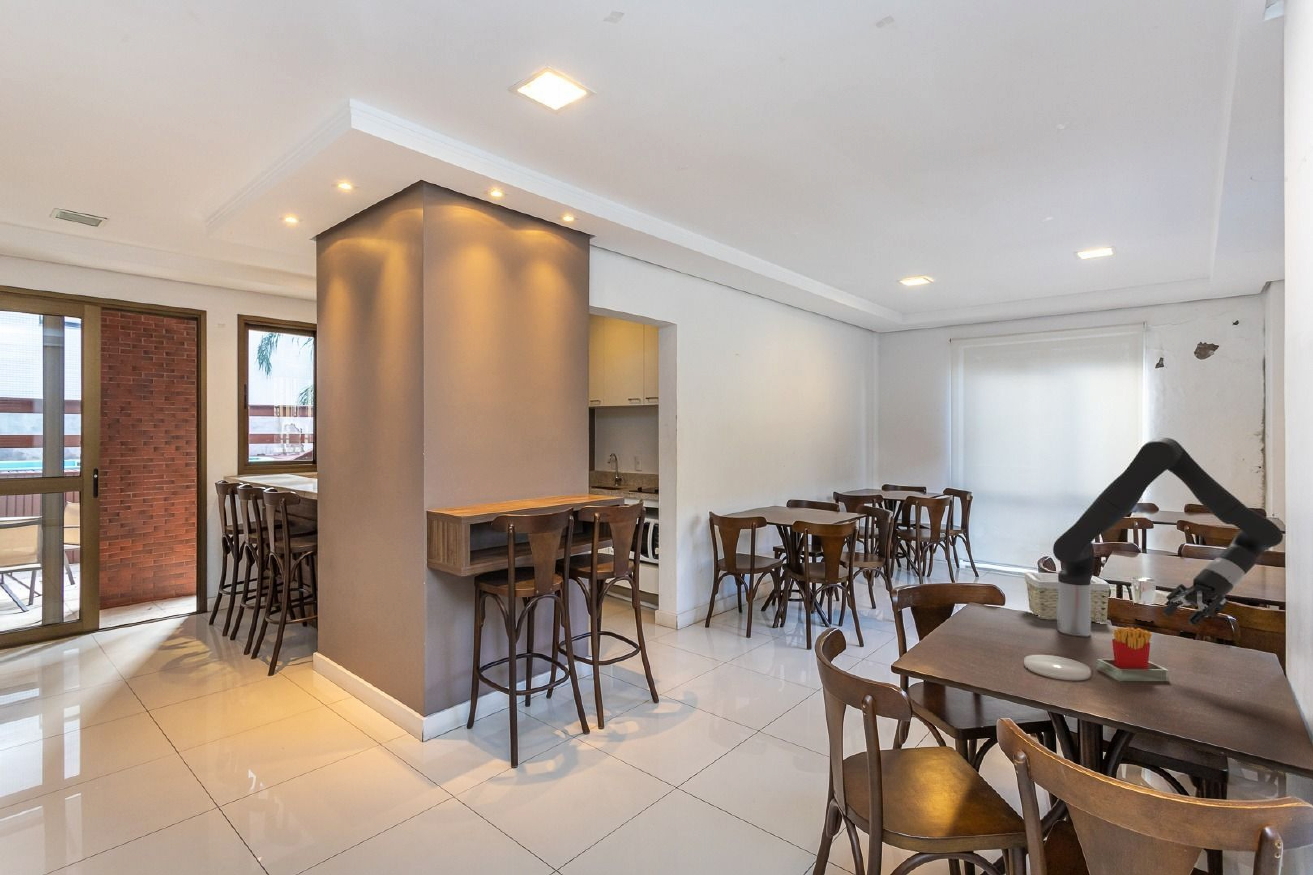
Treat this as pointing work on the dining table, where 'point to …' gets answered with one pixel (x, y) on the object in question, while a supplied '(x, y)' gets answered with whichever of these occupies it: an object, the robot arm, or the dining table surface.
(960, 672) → the dining table surface
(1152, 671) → the open rectangular box
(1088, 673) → the ceramic plate
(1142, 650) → the french fries
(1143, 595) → the beer glass
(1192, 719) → the dining table surface
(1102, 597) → the storage basket
